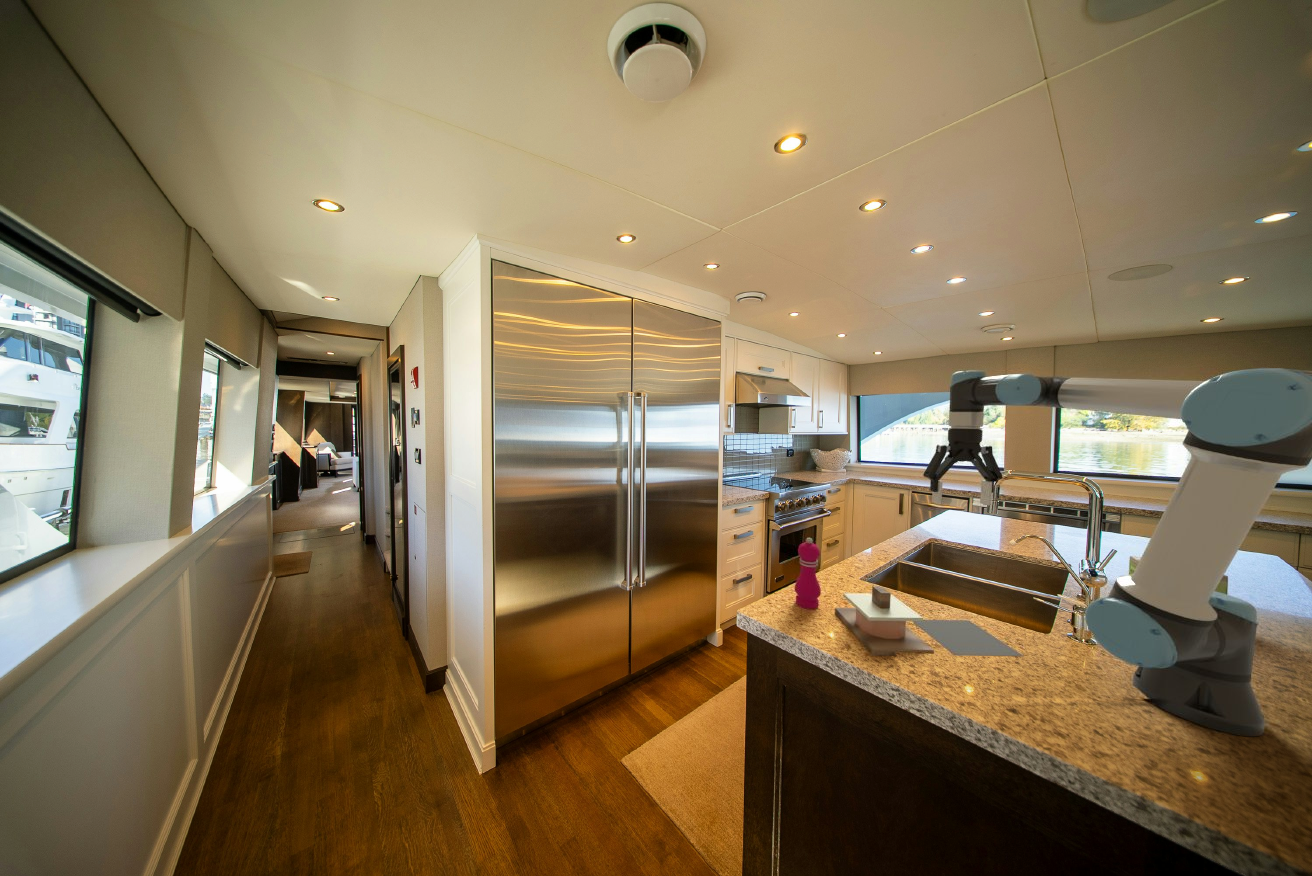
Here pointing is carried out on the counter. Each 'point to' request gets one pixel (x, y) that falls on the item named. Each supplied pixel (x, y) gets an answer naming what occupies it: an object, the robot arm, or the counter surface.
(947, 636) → the mat
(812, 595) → the pepper mill
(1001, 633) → the counter surface
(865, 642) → the board
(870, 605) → the lid
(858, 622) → the bowl
